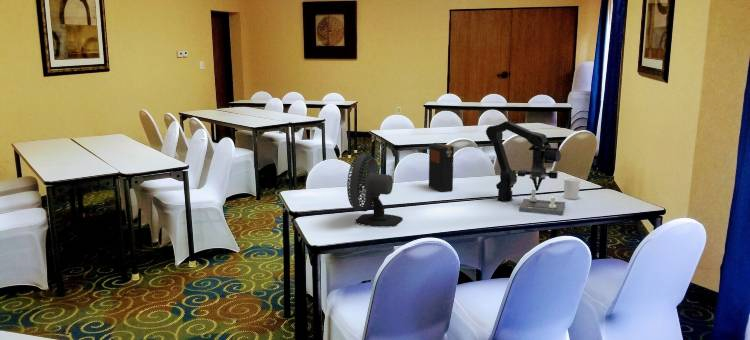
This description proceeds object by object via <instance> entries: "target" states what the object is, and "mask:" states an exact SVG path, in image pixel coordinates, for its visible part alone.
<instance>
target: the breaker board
mask: <svg viewBox="0 0 750 340" xmlns="http://www.w3.org/2000/svg"><path fill="white" fill-rule="evenodd" d="M549 204H551V200H545V199H543V200H542V199H537V200H536V202H534V201H530V198H523V199H522V201H521V204H520V205H519V207H518V209H519V210H518V212H521V213H534V214H542V215H543V214H545V215H546V214H547V215H554V216H555V215H557V216H563V215H564V211H565V207H566V201H557V200H555V205H556V208H549Z"/></svg>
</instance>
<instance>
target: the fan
mask: <svg viewBox="0 0 750 340" xmlns="http://www.w3.org/2000/svg"><path fill="white" fill-rule="evenodd" d="M348 170H349V171H348V174H347V181H346V182H347V184H346V185H347V186H346V187H347V197H348V202H349V204H350V206H351V207H352V208H353V209H354V210H355V211H357V212H367V211H369V210H370V209H372V208H373V213H364V214H361V215H360V216H359V217H358V218H356V219H355V220H354V222H355V221H356V222H357V223H356V222H355V223H356V224H358V223H360V224H359V225H361V224H364V225H363V226H367V225H370V226H369V227H375V226H392V227H396V226H398V225H399V224H400V223H401V222H402V221H403V220H404V219H403V217H402V216H399V215H394V214H388V213H385V205H384V204H383V203H382V201H381V199H380V196H381V195H386V196H387V195H390V194H391V193H392V191H393V188H394V187H393V185H394V181H393V176H392V175H390V174H384V173H383V174H381V173H380V167H379V165H378V162H377V160H376V159H375V158H374V157H373V156H372V155H370V154H359V155H358V156H356V157H355V158H354V159H353V160H352V162H351V164H350V166H349V169H348ZM398 223H399V224H398ZM397 224H398V225H397Z"/></svg>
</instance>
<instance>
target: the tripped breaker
mask: <svg viewBox="0 0 750 340" xmlns="http://www.w3.org/2000/svg"><path fill="white" fill-rule="evenodd" d="M536 192H537V191H536V189H534V190H533V189H532V190H531V196H530V197H529V199H530V201H534V202H536V200H538V199H537V197H536Z"/></svg>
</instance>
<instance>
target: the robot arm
mask: <svg viewBox="0 0 750 340" xmlns="http://www.w3.org/2000/svg"><path fill="white" fill-rule="evenodd" d="M506 131H509V132H511V133H513V134H514V135H517V136H519V137H522V138H524V139H525V140H527V142H528V143H529V144H531V145H530V147H529V148H528V151H532V162H531V163H532V164H531V169H530V170H528V168H527V169H526V168H520V169H519V170H518V171H517V173H516V170H515V169H514V170H512V169H511V167H510V163H509V160H508V157H507V154H506V151H505V150H506V149H505V147H504V143H503V137H504V134H503V132H506ZM485 134H486V137H487V138H488V140H489V142H491V143H492V146H493V148H494V153H495V156H496V159H497V163H498V165H499V169H500V174H499V182H498V183H496V185H495V186H496V189H497V191H498V192H497V201H498V202H499V201H500V202H511V201H512V200H513V189H512V188H514V186H515V185H516V183H517V181H518V177H523V178H524V177H525V176H529V179H531V180H532V182H533V185H534V190H536V192H538V191H539V188H540V186H541V183H542V181H543V180H545V179H546V177H548V178H549V179H552V180H553V179H555V180H556V179H558V176H559V175H558V174H559V172H558V171H557V170H549V171H548V172H547V167H545V161H546V162H554V163H559V162H560V161H561V158H562V154H561V151H560V147H553V146H552V145H551V144H550V142H549V140H548V137H547V135H546V134H544V133H542V132H536V131H531V130H530V129H527V128H525V127H523V126H520V125H518V124H517V123H514V122H513V121H511V120H506V121H503V122H502V123H499V124H495V125H490V126H487V128H486V129H485Z"/></svg>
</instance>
